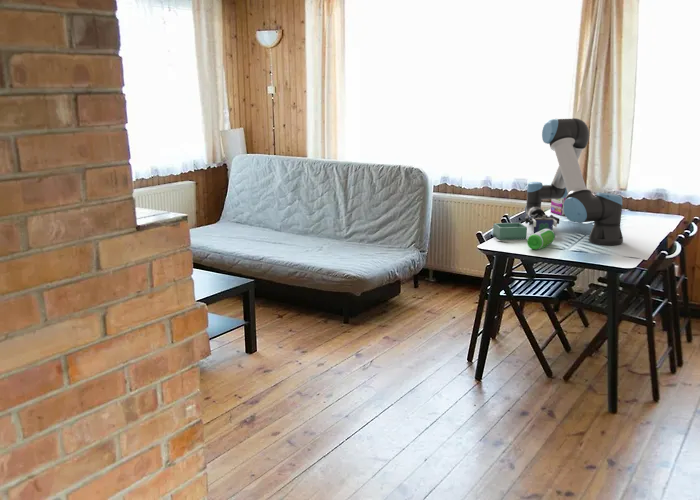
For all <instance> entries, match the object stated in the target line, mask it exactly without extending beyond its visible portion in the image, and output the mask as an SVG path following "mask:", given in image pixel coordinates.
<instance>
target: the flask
mask: <svg viewBox="0 0 700 500" xmlns="http://www.w3.org/2000/svg"><path fill="white" fill-rule="evenodd" d="M546 215H547V214H545V215H543V217H542V218H541V217H540V218H539V217H538V218H535V219H534V220H535V221H536V227H534V226H533V234H534V233H536V232H538V231H541V230H543V229H550V230H552V231H553V227H554V226H553V218H546ZM553 232H554V231H553Z"/></svg>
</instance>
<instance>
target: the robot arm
mask: <svg viewBox="0 0 700 500" xmlns="http://www.w3.org/2000/svg"><path fill="white" fill-rule="evenodd" d="M541 132H542V133H541V138H542V142H543V143H545V144H546V145H549V147H550V150H551V151H554V152H555V156H556V158H557V162H558V167H557V169H556V172H555V175H554V177H553V179H552V182H551V184H549V185H547V184H546V185H545V184H544V185H543V182H541V181H529V182H528V183H527V190H526V205H525V207H524V214H525V218H524V219H525V224H528V225H529V226H533V228H534V227H536V221H535V220H534V219H535V218H538V217H539V218H540V217H541V218H542V217H543V215H546V218H553V227H555V228H557V227H558V225H559V224H560V218H559V217H556V216H554V215H553V214H550V215H549V216H548V215H547V214H546V213H545V211H544V210H543V209H542V201H543V200H552V199H561V198H565V197H566V200H565V202H564V205H563V206H564V207H563V209H564V213H565V215H564V216H565V217H566V219H567V220H568V221H570V222H571V223H581V224H582V223H589V222H593V226H592V228H591V231H590V233H589V236H588V241H589V243H592V244H596V245H602V246H619V245H622V244H623V242H624V237H623V233H622V229H621V221H622V220H621V218H622V213H623V212H622V211H623V210H622V209H623V197H622V196H621V195H619V194H614V193H610V192H596V194H595V196H593V193H592V191H591V190H590V189H588V188H587V186H586V183H585V180H584V177H583V173H582V170H581V167H580V163H579V158H580V156H581V153H582V151H583V150H584V149H586V148H587V146H588V144H589V140H590V130H589V127H588V125H587V123H586V122H585V121H583V120H582V119H580V118H574V117H573V118H552V119H548V120H547V121H546V122H545V123H544V125H543V127H542V131H541Z"/></svg>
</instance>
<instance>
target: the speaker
mask: <svg viewBox="0 0 700 500" xmlns="http://www.w3.org/2000/svg"><path fill="white" fill-rule="evenodd" d="M555 238H556V234H555V232H554V231H552V230H550V229H543V230H541V231H538V232H536V233H534V232H533V233H532V234H530V236H529V237H528V238H527V239H526V241H527V242H526V243H527V246H528V248H530V249H531V250H536V251H537V250H541V249H544V248H545V247H547V246H549V245H550V244H551V243H553V242H554V240H555Z"/></svg>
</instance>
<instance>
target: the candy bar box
mask: <svg viewBox="0 0 700 500" xmlns="http://www.w3.org/2000/svg"><path fill="white" fill-rule="evenodd" d="M550 200H551V201H550V202H551V203H550V205H551V206H550V213H552V214H555V215H559V216H565V213H564V209H563V207H564V206H563V205H564V202H565V200H566V197H565V198H561V199H550Z"/></svg>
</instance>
